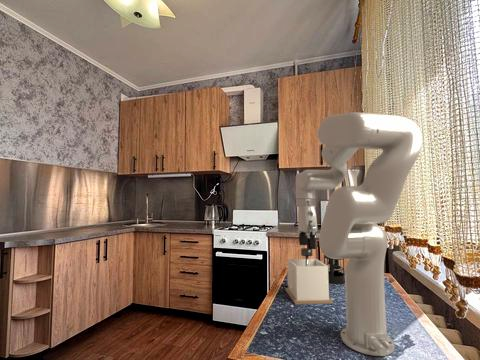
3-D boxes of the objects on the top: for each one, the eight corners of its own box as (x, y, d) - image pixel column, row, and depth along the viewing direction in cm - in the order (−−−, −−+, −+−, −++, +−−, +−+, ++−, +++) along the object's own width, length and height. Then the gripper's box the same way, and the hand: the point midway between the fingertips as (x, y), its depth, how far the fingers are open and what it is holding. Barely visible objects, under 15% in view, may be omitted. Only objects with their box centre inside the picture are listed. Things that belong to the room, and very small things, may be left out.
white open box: (332, 303, 92) (331, 266, 93) (294, 304, 91) (293, 267, 92) (318, 289, 106) (317, 258, 107) (284, 290, 105) (284, 258, 106)
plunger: (324, 291, 94) (323, 251, 95) (299, 292, 93) (298, 251, 94) (315, 282, 104) (314, 246, 105) (291, 283, 103) (291, 246, 104)
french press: (342, 286, 110) (341, 232, 112) (321, 282, 115) (319, 231, 117) (347, 279, 120) (346, 230, 122) (327, 275, 125) (326, 229, 127)
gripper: (323, 203, 93) (325, 250, 91) (307, 203, 110) (309, 243, 108) (303, 203, 92) (305, 251, 90) (290, 203, 109) (291, 243, 108)
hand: (307, 246), depth 99 cm, fingers open, 9 cm apart
